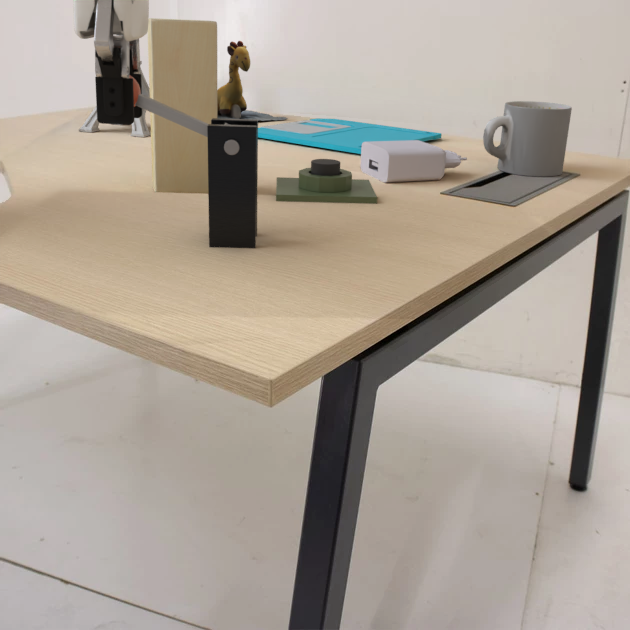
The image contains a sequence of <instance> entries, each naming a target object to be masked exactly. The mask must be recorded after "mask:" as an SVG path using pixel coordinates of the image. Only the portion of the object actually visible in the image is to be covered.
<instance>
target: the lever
mask: <svg viewBox="0 0 630 630" xmlns="http://www.w3.org/2000/svg"><path fill="white" fill-rule="evenodd" d="M129 78H133V77H132V76H131V75H129ZM133 91H134V107H135V106H138V107H141V108H143V109H145V110H147V111H146V112H149V111H150V112H152V113H154V114H156V115H159V116H161V117H163V118H165V119H168V120H170V121H172V122H174V123H177V124H179V125H181V126H183V127H186V128H188V129H190V130H192V131H195V132H197V133H199V134H201V135H204V136H206V137H208V133H207V126H208V124H207V123H205V122H203V121H201V120H198V119H196V118H194V117H192V116H190V115H187V114H185V113H183V112H181V111H178V110H176V109H174V108H172V107H169V106H167V105H165V104H163V103H161V102H158V101H156V100H154V99H152V98H149V97H147V96H145V95H143V94H141V90H140V86H139V84H138V82H137V81H136V80H135V79H134V78H133ZM150 112H149V113H150ZM224 125H230V124H228V123H225V124H224Z"/></svg>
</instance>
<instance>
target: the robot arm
mask: <svg viewBox="0 0 630 630" xmlns="http://www.w3.org/2000/svg"><path fill="white" fill-rule="evenodd" d="M72 2H73V30H74V33H75V34H76V36H77V37H78V38H80V39H81V40H82V39H83V40H88V39H92V38H93V46H94V62H95V63H94V72H95V77H94V78H95V79H94V80H95V82H94V83H95V98H96V99H95V102H96V103H95V104H96V106H97V120H98V122H99V124H104V125H115V124H121V125H120V126H132V123H133V122H134V118H140V117H141V116H142V108H141V107H138V106H135V107H134V91H133V78H134V79H135V80H136V81H137V82H138V84H139V86H140V90H141V94H142V80H141V74H134V73H140V67H141V65H140V61H141V51H140V49H141V48H140V39H142V38H143V37H145V36H146V35H148V22H149V18H150V0H73V1H72ZM116 35H122V36H116ZM129 75H131V76H132V77H133V78H129Z"/></svg>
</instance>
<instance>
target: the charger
mask: <svg viewBox="0 0 630 630" xmlns="http://www.w3.org/2000/svg"><path fill="white" fill-rule="evenodd" d="M462 161H468V157H467V156H466V157H465V156H464V157H462V155H460V154H459V155H458V153H457V152H455V151H452V150H449V149H443V148H441V147H440V146H437V145H434V144H430V143H429V142H426V141H424V142H422V141H419V140H406V141H371V142H363V143H362V146H361V154H360V164H359V167H360V170H361V172H362V174H365V175H367V176H369V177H371V178H373V179H375V180H377V181H380V182H382V183H402V182H404V183H406V182H425V181H439V180H441V179H442V178H443V177H444V176H445V170H446V169H456V168H458V167H459V166H460V165H461V164H462Z"/></svg>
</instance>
